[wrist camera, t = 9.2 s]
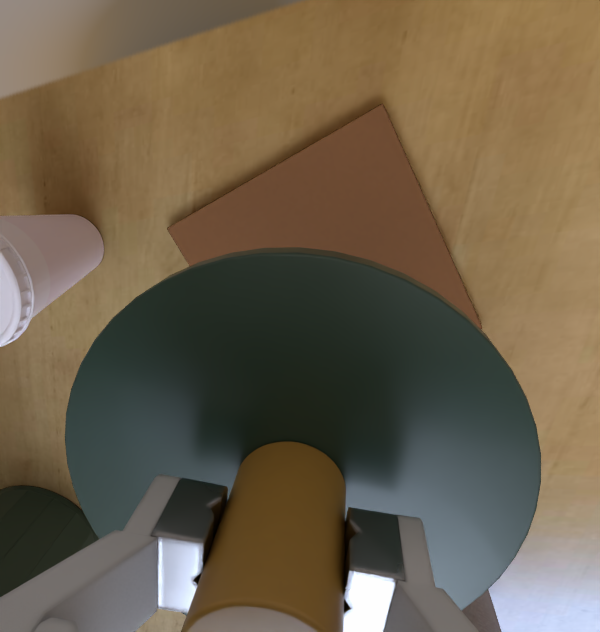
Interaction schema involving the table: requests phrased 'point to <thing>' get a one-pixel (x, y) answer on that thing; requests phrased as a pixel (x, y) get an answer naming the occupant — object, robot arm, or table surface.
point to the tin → (37, 533)
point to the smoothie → (41, 264)
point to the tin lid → (306, 428)
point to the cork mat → (334, 209)
